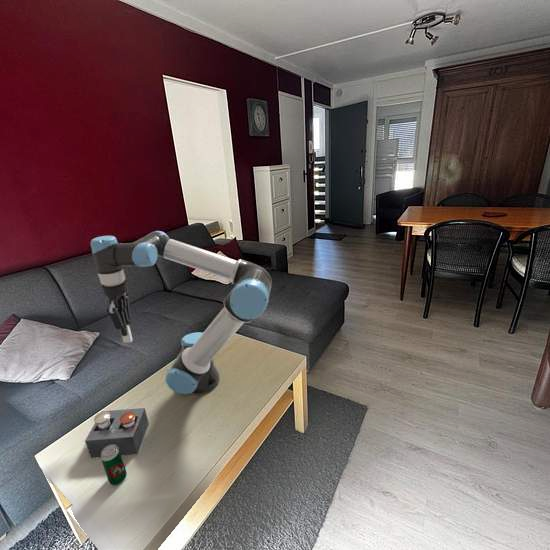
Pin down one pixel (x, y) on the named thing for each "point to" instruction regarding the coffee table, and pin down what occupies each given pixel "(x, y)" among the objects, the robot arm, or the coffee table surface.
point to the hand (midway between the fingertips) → (128, 341)
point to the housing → (118, 434)
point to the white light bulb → (103, 420)
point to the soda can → (113, 464)
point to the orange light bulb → (128, 420)
